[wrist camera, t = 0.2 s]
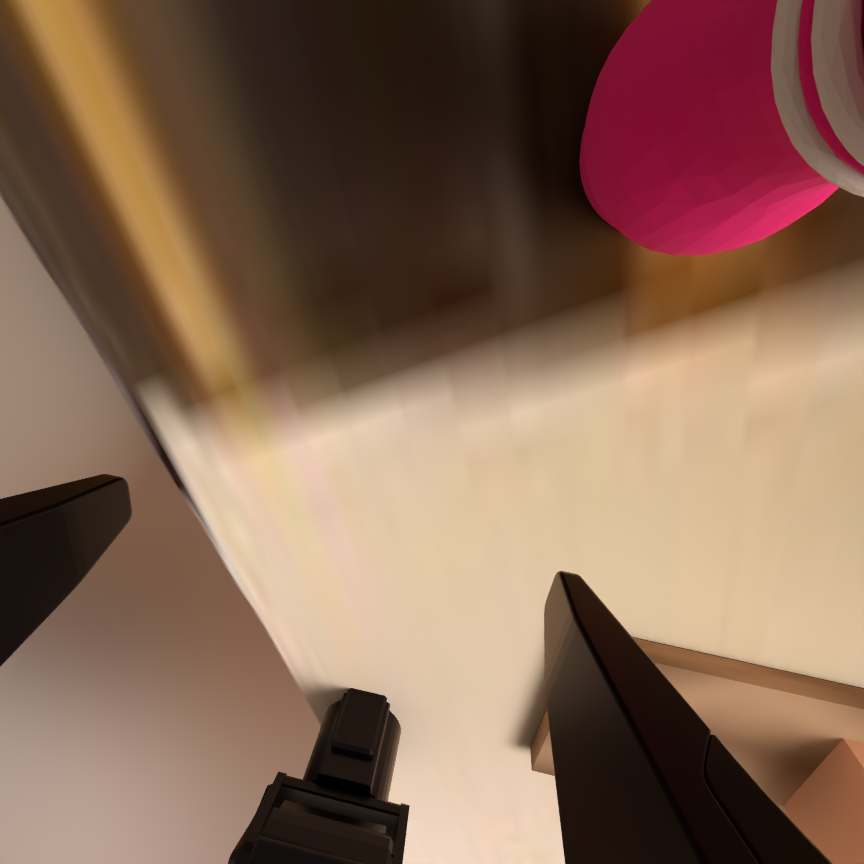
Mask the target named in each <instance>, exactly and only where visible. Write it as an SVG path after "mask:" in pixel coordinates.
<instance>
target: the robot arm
mask: <svg viewBox="0 0 864 864" xmlns="http://www.w3.org/2000/svg"><path fill="white" fill-rule="evenodd" d="M131 515H132V506H131V499H130V492H129V486H128V482H127V481H126V480H125V479H124V478H122V477H118V476H112V475H107V474H102V475H98V476H94V477H89V478H85V479H81V480H77V481H73V482H69V483H65V484H60V485H56V486H52V487H48V488H44V489H40V490H36V491H32V492H28V493H23V494H19V495H15V496H11V497H7V498H3V499H0V666H1V665H2V664H3V663H4V662H5V661H6V660H7V659H8V658H9V657H10V656H11V655H12V654H13V653H14V651H16V650H17V649H18V648H19V647H20V645H21V644H22V643H23V642H24V641H25V640H26V639H27V638H28V637H29V636H30V635H31V634H32V633H33V632H34V631H35V630H36V629H37V628H38V627H39V625H41V623H42V622H43V621H44V620H45V619H46V618H47V617H48V616H49V615H50V614H51V613H52V612H53V611H54V610H55V609H56V608H57V607H58V606H59V605H60V604H61V603H62V602H63V600H64V599H65V598H66V597H67V596H68V595H69V594H70V593H71V592H72V591H73V590H74V589H75V587H77V585H78V584H79V583H80V582H81V581H82V580H83V578H84V577H85V576H86V575H87V574H88V572H89V571H90V570H91V569H92V567H93V566H94V565H95V564H96V562H97V561H98V560H99V559H100V557H101V556H102V555H103V553H104V552H105V551H106V550H107V549H108V547H109V546H110V545H111V544H112V542H113V541H114V540H115V538H116V537H117V536H118V535H119V534H120V532H121V531H122V530H123V529H124V527H125V526H126V525H127V523H128V522H129V520H130V518H131ZM544 643H545V694H546V705H547V713H548V721H549V730H550V738H551V747H552V755H553V764H554V772H555V781H556V789H557V798H558V806H559V814H560V823H561V831H562V840H563V848H564V857H565V864H832V863H831V861H830V860H829V859H828V858H827V857H826V856H825V855H824V854H823V853H822V852H821V851H820V850H819V849H818V848H817V847H816V846H815V845H814V844H813V843H812V842H811V841H810V840H809V839H808V837H807V836H806V835H805V834H804V833H803V832H802V831H801V830H800V829H799V828H798V827H797V826H796V825H795V824H794V823H793V821H792V820H791V819H790V818H789V817H788V816H787V815H786V814H785V813H784V812H783V811H782V810H781V809H780V808H779V806H778V805H777V804H776V803H775V802H774V801H773V800H772V799H771V798H770V797H769V796H768V795H767V794H766V792H765V791H764V790H763V789H762V788H761V787H760V786H759V785H758V783H757V782H756V781H755V780H754V779H753V778H752V777H751V775H750V774H749V773H748V772H747V771H746V770H745V769H744V767H743V766H742V765H741V764H740V763H739V762H738V761H737V760H736V758H735V757H734V756H733V755H732V754H731V753H730V751H729V750H728V749H727V748H726V747H725V746H724V744H723V743H722V742H721V741H720V740H719V738H718V737H717V736H716V735H714V734H711V729H710V728H709V727H708V726H707V725H706V723H705V722H704V721H703V720H702V719H701V718H700V716H699V715H698V714H697V713H696V712H695V710H694V709H693V708H692V707H691V706H690V705H689V703H688V702H687V701H686V700H685V699H684V698H683V696H682V695H681V694H680V693H679V692H678V691H677V689H676V688H675V687H674V686H673V685H672V683H671V682H670V681H669V680H668V679H667V678H666V676H665V675H664V674H663V673H662V672H661V671H660V669H659V668H658V667H657V666H656V665H655V663H654V662H653V661H652V660H651V659H650V658H649V656H648V655H647V654H646V653H645V652H644V651H643V649H642V648H641V647H640V646H639V645H638V643H637V642H636V641H635V640H634V639H633V638H632V636H631V635H630V634H629V633H628V632H627V631H626V629H625V628H624V627H623V626H622V625H621V623H620V622H619V621H618V620H617V619H616V618H615V616H614V615H613V614H612V613H611V612H610V611H609V609H608V608H607V607H606V606H605V605H604V604H603V602H602V601H601V600H600V599H599V598H598V596H597V595H596V594H595V593H594V592H593V591H592V589H591V588H590V587H589V586H588V585H587V584H586V582H585V581H584V580H583V579H582V578H581V577H580V576H579V575H577V574H573V573H569V572H564V571H559V572H557V574H556V575H555V577H554V580H553V583H552V586H551V589H550V591H549V594H548V597H547V600H546V604H545V611H544ZM386 701H387V698H386V697H385V696H383V695H379V694H375V693H370V692H366V691H362V690H358V689H353V688H350V689H348V692H347V693H344V695H343V698H342V700H340V701H337V702H335V703H334V704H332V705H331V706H330V707H329V708H328V710H327V712H326V715H325V718H324V721H323V724H322V726H321V729H320V732H319V735H318V738H317V741H316V743H315V746H314V749H313V752H312V755H311V758H310V760H309V763H308V766H307V769H306V772H305V774H304V777H303V780H302V779H298V778H294V777H290V776H287V774H286V773H282V772H278V774H277V776H276V778H275V780H274V782H273V784H270V785H268V786H267V788H266V790H265V793H264V795H263V798H262V800H261V803H260V805H259V807H258V809H257V812H256V814H255V816H254V818H253V819H252V821H251V823H250V824H249V826H248V828H247V829H246V831H245V832H244V834H243V836H242V837H241V839H240V841H239V842H238V844H237V845H236V847H235V849H234V850H233V852H232V854H231V856H230V858H229V861H228V864H402V862H403V854H404V846H405V838H406V829H407V821H408V813H409V805H406V804H402V803H401V805H399V804H395V803H391V802H388V796H389V791H390V786H391V781H392V776H393V770H394V765H395V760H396V755H397V749H398V744H399V739H400V734H401V728H400V724H399V722H398V720H397V718H396V717H395V716H394V715H393V714H392V713H391V712H390V710H389V708H390V704H389V703H388V702H386Z"/></svg>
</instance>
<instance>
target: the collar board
mask: <svg viewBox="0 0 864 864" xmlns="http://www.w3.org/2000/svg"><path fill="white" fill-rule="evenodd" d="M633 639H634V640H635V641H636V642H637V643H638V645H639V646H640V647H641V648H642V649H643V651H644V652H645V653H646V654H647V655H648V656H649V658H650V659H651V660H652V661H653V662H654V663H655V665H656V666H657V667H658V668H659V669H660V671H661V672H662V673H663V674H664V675H665V676H666V678H667V679H668V680H669V681H670V682H671V683H672V685H673V686H674V687H675V688H676V689H677V691H678V692H679V693H680V694H681V695H682V696H683V698H684V699H685V700H686V701H687V702H688V703H689V705H690V706H691V707H692V708H693V709H694V710H695V712H696V713H697V714H698V715H699V716H700V718H701V719H702V720H703V721H704V722H705V723H706V725H707V726H708V727H709V728H710V729H711V734H714V735H716V736H717V737H718V738H719V740H720V741H721V742H722V743H723V744H724V746H725V747H726V748H727V749H728V750H729V751H730V753H731V754H732V755H733V756H734V757H735V758H736V760H737V761H738V762H739V763H740V764H741V765H742V766H743V767H744V769H745V770H746V771H747V772H748V773H749V774H750V775H751V777H752V778H753V779H754V780H755V781H756V782H757V783H758V785H759V786H760V787H761V788H762V789H763V790H764V791H765V792H766V794H767V795H768V796H769V797H770V798H771V799H772V800H773V801H774V802H775V803H776V804H777V805H778V806H779V808H780V809H781V810H782V811H783V812H784V813H785V814H786V815H787V816H788V817H789V815H788V813H787V811H786V809H785V807H784V805H785V803H786V802H787V801H788V800H789V799H790V798H791V797H792V796H793V794H794V793H795V792H796V791H797V790H798V789H799V788H800V787H801V785H802V784H803V783H804V782H805V781H806V780H807V779H808V778H809V776H810V775H811V774H812V773H813V772H814V771H815V770H816V769H817V768H818V766H819V765H820V764H821V763H822V762H823V761H824V760H825V759H826V757H827V756H828V755H829V754H830V753H831V752H832V751H833V750H834V748H835V747H836V746H837V745H838V744H839V743H840V742H841V741H842V739H843V738H844V739H848V740H853V741H857V742H861V743H864V689H862V688H858V687H853V686H849V685H844V684H840V683H835V682H831V681H826V680H822V679H817V678H813V677H808V676H804V675H799V674H795V673H790V672H786V671H781V670H777V669H772V668H768V667H763V666H759V665H754V664H750V663H745V662H741V661H736V660H732V659H727V658H723V657H718V656H714V655H709V654H705V653H700V652H696V651H691V650H686V649H682V648H677V647H673V646H668V645H664V644H659V643H655V642H650V641H646V640H641V639H637V638H633ZM530 749H531V764H532V770H533V771H537V772H541V773H545V774H549V775H554V776H555V772H554V764H553V755H552V747H551V738H550V730H549V721H548V713H547V709H546V711H545V713H544V716H543V718H542V721H541V723H540V725H539V728H538V730H537V733H536V735H535V737H534V740H533V742H532V745H531V747H530ZM789 818H790V817H789Z"/></svg>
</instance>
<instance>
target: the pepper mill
mask: <svg viewBox="0 0 864 864" xmlns="http://www.w3.org/2000/svg"><path fill="white" fill-rule="evenodd" d="M579 162H580V173H581V180H582V184H583V187H584V190H585V194H586V196H587V198H588V200H589V202H590V204H591V205H592V207H593V208H594V210H595V211H596V212H597V213H598V215H599V216H600V217H601V218H602V219H603V220H604V221H605V222H607V223H608V224H609V225H611V226H612V227H614V228H616V229H617V230H618V231H619V232H621V233H622V234H623V235H624V236H626V237H627V238H628V239H630V240H631V241H633V242H635V243H637V244H639V245H641V246H643V247H645V248H647V249H650V250H653V251H657V252H661V253H666V254H670V255H706V254H713V253H718V252H724V251H729V250H735V249H738V248H740V247H743V246H746V245H749V244H751V243H754V242H757V241H760V240H762V239H764V238H766V237H768V236H770V235H771V234H773V233H775V232H777V231H779V230H781V229H783V228H785V227H786V226H788V225H789V224H791V223H792V222H794V221H796V220H797V219H799V218H800V217H802V216H803V215H805V214H806V213H808V212H809V211H811V210H812V209H814V208H815V207H817V206H818V205H820V204H821V203H822V202H823V201H824V200H826V199H827V198H828V197H829V196H830V195H831V194H832V193H833V192H834V191H836V190H837V189H838V188H839V187H840V188H842V189H844V190H846V191H848V192H850V193H853V194H855V195H859V196H862V197H864V0H651V2H650V3H649V4H648V5H647V6H646V7H645V8H644V9H643V10H642V11H641V12H640V13H639V14H638V16H637V17H636V18H635V19H634V20H633V21H632V22H631V23H630V24H629V25H628V27H627V28H626V30H625V31H624V33H623V34H622V36H621V37H620V39H619V40H618V42H617V43H616V45H615V46H614V48H613V49H612V51H611V52H610V54H609V56H608V58H607V60H606V62H605V64H604V66H603V68H602V70H601V72H600V74H599V77H598V79H597V82H596V85H595V88H594V91H593V94H592V97H591V100H590V104H589V109H588V113H587V117H586V124H585V128H584V131H583V135H582V140H581V149H580V161H579Z"/></svg>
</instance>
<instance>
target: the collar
mask: <svg viewBox="0 0 864 864" xmlns="http://www.w3.org/2000/svg"><path fill="white" fill-rule="evenodd" d="M784 807H785V809H786V811H787V813H788V815H789V817H790V819H791V820H792V821H793V823H794V824H795V825H796V826H797V827H798V828H799V829H800V830H801V831H802V832H803V833H804V834H805V835H806V836H807V837H808V839H809V840H810V841H811V842H812V843H813V844H814V845H815V846H816V847H817V848H818V849H819V850H820V851H821V852H822V853H823V854H824V855H825V856H826V857H827V858H828V859H829V860H830V861H831V863H832V864H864V743H861V742H857V741H853V740H848V739H844V738H843V739H842V741H841V742H840V743H839V744H838V745H837V746H836V747H835V748H834V750H833V751H832V752H831V753H830V754H829V755H828V756H827V757H826V759H825V760H824V761H823V762H822V763H821V764H820V765H819V766H818V768H817V769H816V770H815V771H814V772H813V773H812V774H811V775H810V776H809V778H808V779H807V780H806V781H805V782H804V783H803V784H802V785H801V787H800V788H799V789H798V790H797V791H796V792H795V793H794V794H793V796H792V797H791V798H790V799H789V800H788V801H787V802H786V803H785V805H784Z"/></svg>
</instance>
